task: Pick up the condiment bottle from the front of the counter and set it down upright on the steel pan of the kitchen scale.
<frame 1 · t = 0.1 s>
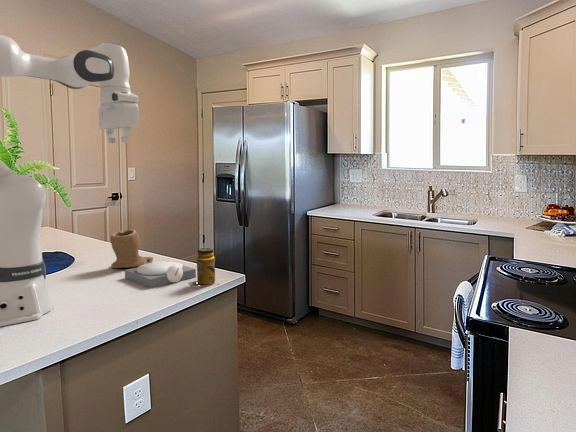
hand: (118, 142, 140), 48 cm above the worktop, fingers open, 8 cm apart
scale: (160, 277, 159), on the worktop
condiment: (203, 284, 151), on the worktop
stone cup: (131, 267, 174), on the worktop
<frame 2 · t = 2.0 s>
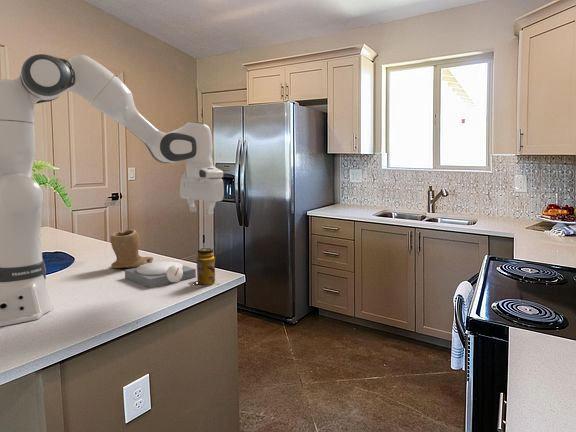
hand: (201, 213, 148), 24 cm above the worktop, fingers open, 8 cm apart
nothing on the worktop moved.
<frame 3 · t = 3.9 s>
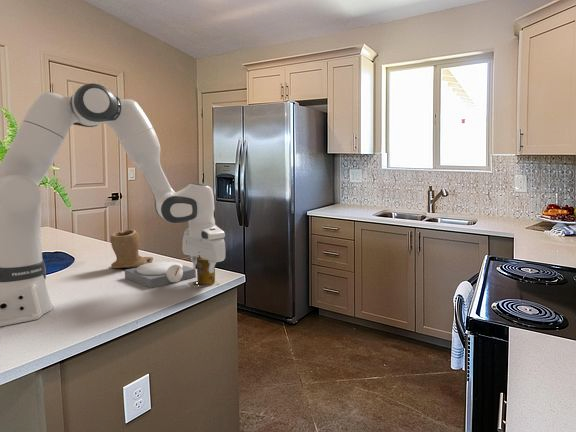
hand: (203, 270, 150), 5 cm above the worktop, fingers open, 7 cm apart
condiment: (203, 284, 151), on the worktop, touching gripper
everything else where it was.
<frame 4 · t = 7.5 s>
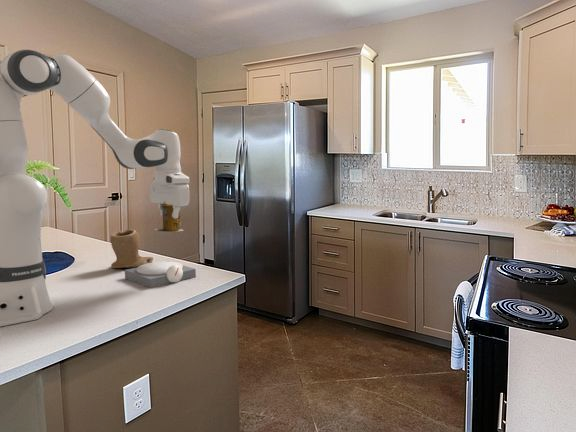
hand: (169, 217, 153), 22 cm above the worktop, fingers closed on condiment, 6 cm apart
condiment: (169, 231, 154), point 18 cm above the worktop, touching gripper
everything else where it was.
when the fingers open (10 cm above the worktop, at t = 10.9 s): condiment drops 1 cm, resting on scale.
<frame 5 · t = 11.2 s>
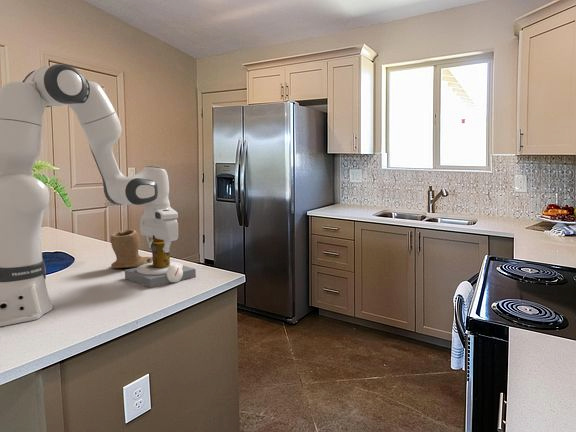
hand: (159, 250, 158), 10 cm above the worktop, fingers open, 8 cm apart
condiment: (159, 267, 158), point 4 cm above the worktop, touching scale
everything else where it was.
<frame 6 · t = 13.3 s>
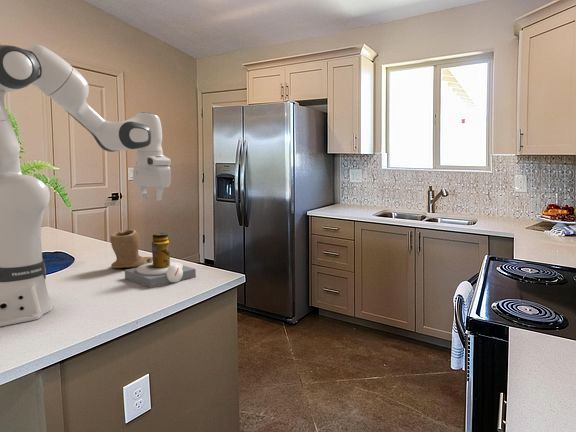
hand: (151, 199, 156), 28 cm above the worktop, fingers open, 8 cm apart
nothing on the worktop moved.
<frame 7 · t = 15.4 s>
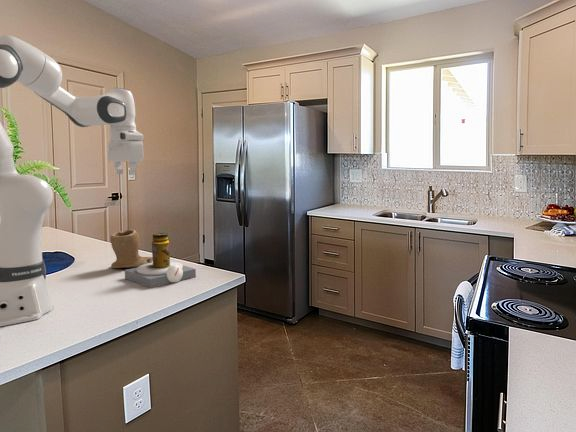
hand: (125, 174, 158), 37 cm above the worktop, fingers open, 8 cm apart
nothing on the worktop moved.
at the end: condiment inside the target area on the scale (0.4 cm from its centre), point 3.8 cm above the scale's base; condiment tilted 0°; the gripper is holding nothing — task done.
